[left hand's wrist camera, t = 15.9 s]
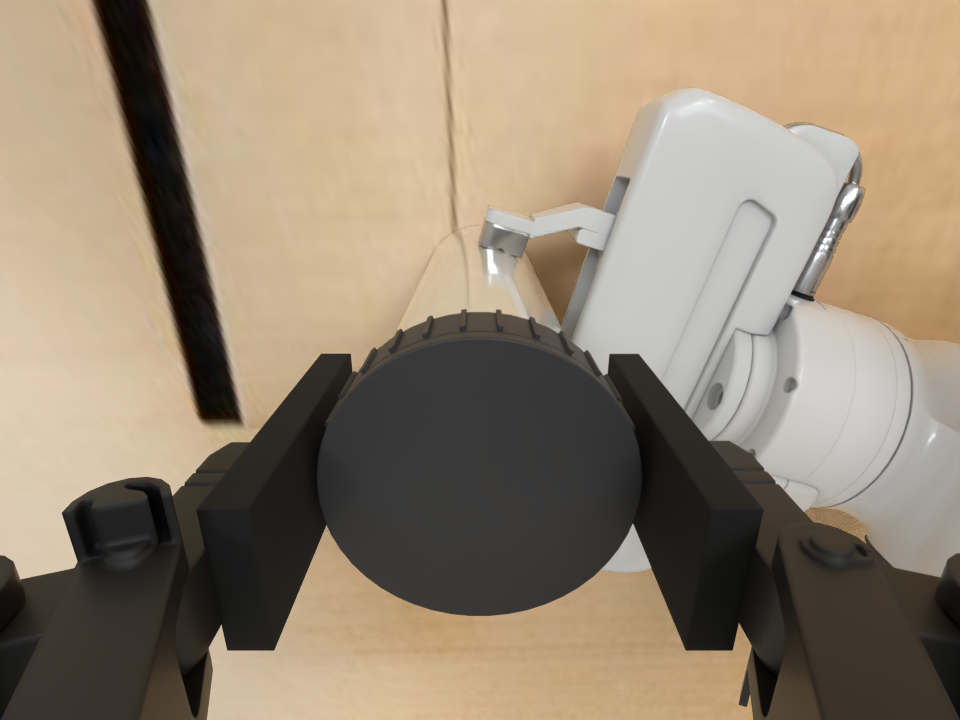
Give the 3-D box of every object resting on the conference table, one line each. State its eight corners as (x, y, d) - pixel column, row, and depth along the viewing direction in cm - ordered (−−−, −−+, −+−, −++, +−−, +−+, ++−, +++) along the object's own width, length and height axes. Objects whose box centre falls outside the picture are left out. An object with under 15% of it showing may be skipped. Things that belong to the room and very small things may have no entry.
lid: (648, 317, 11) (676, 345, 9) (602, 570, 13) (618, 626, 12) (329, 297, 11) (303, 321, 9) (338, 556, 13) (318, 611, 11)
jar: (507, 343, 30) (546, 611, 12) (412, 306, 29) (309, 535, 12) (549, 250, 28) (666, 408, 10) (450, 208, 27) (395, 302, 10)
